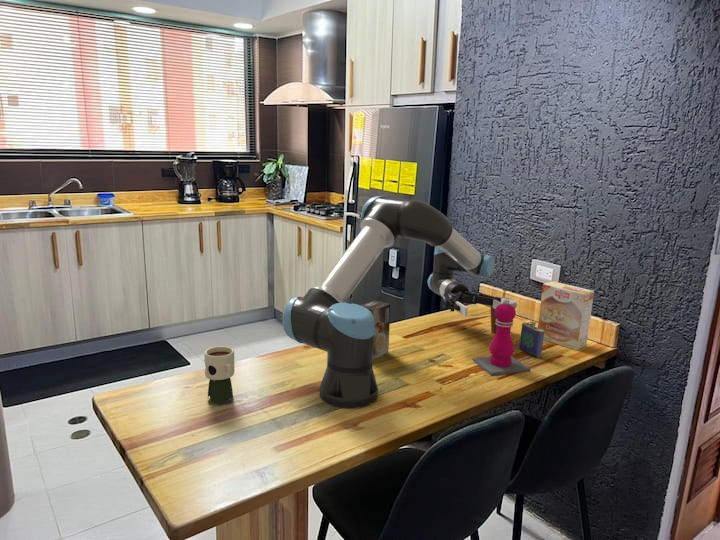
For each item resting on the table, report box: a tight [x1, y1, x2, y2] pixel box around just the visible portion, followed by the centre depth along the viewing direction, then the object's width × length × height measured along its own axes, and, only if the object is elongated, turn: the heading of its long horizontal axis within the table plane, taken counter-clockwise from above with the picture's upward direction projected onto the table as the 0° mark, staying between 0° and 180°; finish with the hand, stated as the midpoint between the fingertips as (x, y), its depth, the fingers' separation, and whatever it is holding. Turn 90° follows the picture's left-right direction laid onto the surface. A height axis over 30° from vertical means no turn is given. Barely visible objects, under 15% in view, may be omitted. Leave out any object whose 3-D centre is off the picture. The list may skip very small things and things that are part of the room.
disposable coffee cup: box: [489, 296, 518, 335], centre depth 192 cm, size 10×10×12 cm
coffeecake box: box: [537, 280, 595, 351], centre depth 185 cm, size 15×7×20 cm, turn 42°
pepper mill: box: [488, 299, 517, 367], centre depth 162 cm, size 7×7×20 cm
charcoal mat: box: [471, 355, 531, 376], centre depth 165 cm, size 13×11×1 cm
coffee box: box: [359, 299, 392, 361], centre depth 168 cm, size 9×6×16 cm
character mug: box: [203, 345, 235, 404], centre depth 135 cm, size 11×7×13 cm, turn 41°
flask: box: [518, 320, 545, 359], centre depth 175 cm, size 9×3×11 cm, turn 25°
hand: (485, 310), depth 171 cm, fingers open, 13 cm apart
